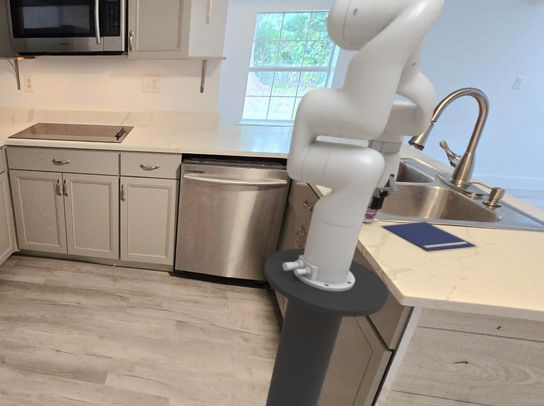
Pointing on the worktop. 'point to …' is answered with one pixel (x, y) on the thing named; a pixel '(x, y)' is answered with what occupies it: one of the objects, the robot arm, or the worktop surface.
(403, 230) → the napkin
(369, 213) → the pill bottle
